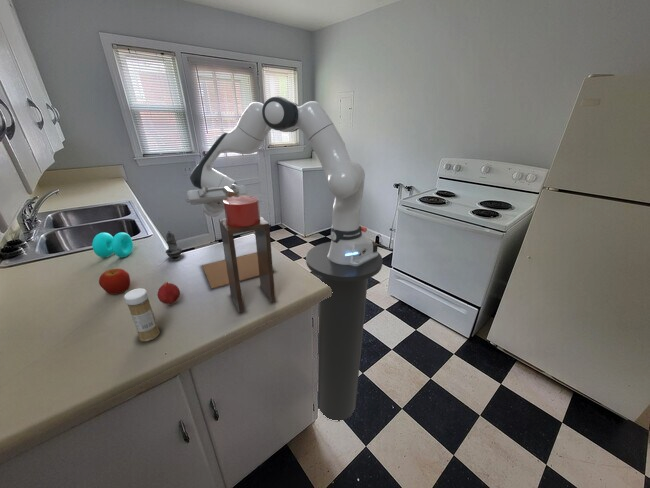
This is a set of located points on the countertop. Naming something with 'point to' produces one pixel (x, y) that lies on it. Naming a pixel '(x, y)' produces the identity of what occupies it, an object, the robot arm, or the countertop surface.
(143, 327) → the spice jar
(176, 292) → the onion
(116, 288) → the apple
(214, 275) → the mat
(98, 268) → the countertop surface
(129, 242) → the donuts
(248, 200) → the saucepan
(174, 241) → the grey statuette
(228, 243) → the shelf
